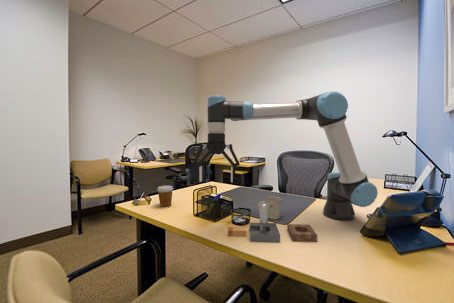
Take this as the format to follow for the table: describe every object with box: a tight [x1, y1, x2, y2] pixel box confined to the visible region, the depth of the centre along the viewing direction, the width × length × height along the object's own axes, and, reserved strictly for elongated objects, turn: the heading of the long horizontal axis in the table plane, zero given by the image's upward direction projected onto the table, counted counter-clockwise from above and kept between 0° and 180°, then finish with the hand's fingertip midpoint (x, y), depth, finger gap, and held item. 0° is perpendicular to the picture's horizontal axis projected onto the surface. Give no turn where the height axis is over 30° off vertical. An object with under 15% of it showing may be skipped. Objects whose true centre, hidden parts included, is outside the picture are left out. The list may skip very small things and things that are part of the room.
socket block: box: [248, 222, 281, 243], centre depth 97 cm, size 12×12×3 cm
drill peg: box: [259, 202, 269, 231], centre depth 96 cm, size 4×4×14 cm
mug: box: [257, 196, 283, 220], centre depth 117 cm, size 8×13×10 cm, turn 78°
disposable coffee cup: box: [156, 185, 174, 208], centre depth 136 cm, size 10×10×12 cm
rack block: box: [286, 223, 318, 243], centre depth 96 cm, size 10×10×3 cm
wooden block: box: [227, 224, 247, 237], centre depth 97 cm, size 8×3×4 cm, turn 86°
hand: (216, 181), depth 97 cm, fingers open, 13 cm apart
